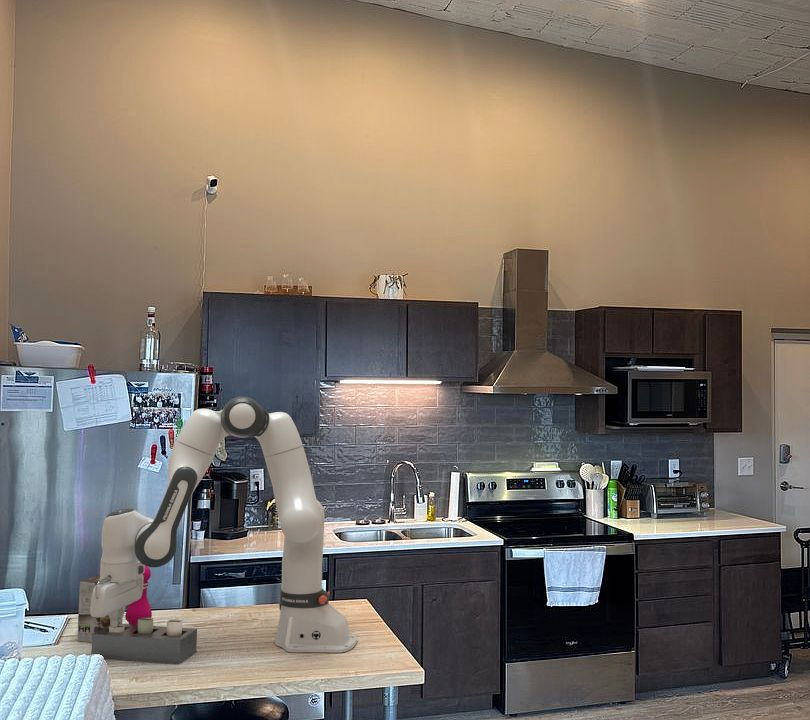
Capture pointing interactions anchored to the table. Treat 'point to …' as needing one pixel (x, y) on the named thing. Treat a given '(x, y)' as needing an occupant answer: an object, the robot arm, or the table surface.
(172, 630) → the cream white small cup
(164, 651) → the grey rectangular holder block
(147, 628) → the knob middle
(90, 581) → the brown food box
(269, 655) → the table surface
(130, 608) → the pepper mill
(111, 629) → the small cream cup
